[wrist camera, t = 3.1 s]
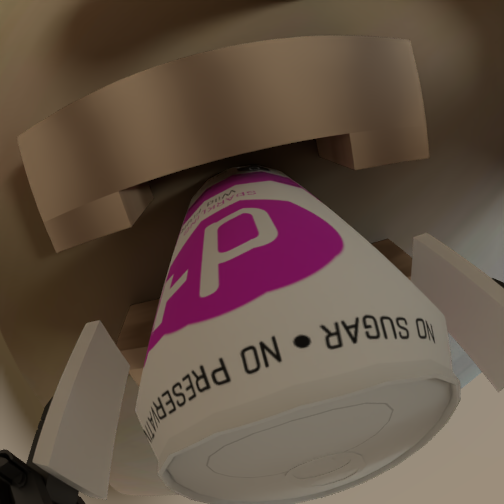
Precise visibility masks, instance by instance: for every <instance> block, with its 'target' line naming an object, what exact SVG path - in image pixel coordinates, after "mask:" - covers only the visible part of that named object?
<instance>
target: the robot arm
mask: <svg viewBox="0 0 504 504" xmlns="http://www.w3.org/2000/svg"><path fill="white" fill-rule="evenodd" d="M411 282H412V283H413V284H414V285H415V286H416V287H417V288H418V289H419V290H420V291H421V292H422V293H423V294H424V295H425V296H426V297H427V298H428V299H429V300H430V301H431V302H432V303H433V304H434V305H435V306H436V307H437V308H438V309H439V310H440V311H441V312H442V313H443V315H444V316H445V320H446V326H447V331H448V332H449V333H450V335H451V336H452V337H453V338H454V339H455V340H456V341H457V343H458V344H459V345H460V346H461V347H462V348H463V349H464V351H465V352H466V353H467V354H468V355H469V357H470V358H471V359H472V360H473V361H474V363H475V364H476V365H477V366H478V367H479V369H480V370H481V371H482V372H483V373H484V375H485V376H486V377H487V379H488V380H489V381H490V382H491V384H492V385H493V386H494V387H495V389H496V390H497V391H498V392H499V391H501V390H502V389H503V388H504V283H503V282H501V281H499V280H496V279H494V278H492V279H491V278H490V277H489V276H487V275H486V274H485V273H484V272H482V271H481V270H480V269H478V268H477V267H476V266H474V265H473V264H471V263H470V262H469V261H467V260H466V259H465V258H463V257H462V256H460V255H459V254H458V253H456V252H455V251H453V250H452V249H450V248H449V247H447V246H446V245H444V244H443V243H442V242H440V241H439V240H437V239H436V238H434V237H432V236H431V235H429V234H428V233H424V234H421V235H418V236H415V237H413V256H412V270H411ZM129 369H130V365H129V363H128V362H127V360H126V359H125V358H124V356H123V355H122V353H121V352H120V350H119V349H118V347H117V346H116V344H115V343H114V341H113V340H112V338H111V337H110V335H109V334H108V332H107V330H106V329H105V327H104V326H103V324H102V322H101V321H100V320H98V321H93V322H89V323H86V324H85V326H84V328H83V330H82V332H81V335H80V337H79V339H78V341H77V343H76V345H75V347H74V349H73V352H72V354H71V356H70V358H69V360H68V363H67V365H66V367H65V370H64V372H63V374H62V377H61V379H60V382H59V384H58V386H57V389H56V392H55V394H54V397H52V398H51V399H50V401H49V402H48V404H47V405H46V406H45V408H44V411H43V414H42V417H41V421H40V423H39V425H38V430H37V431H36V434H35V438H34V440H33V444H32V447H31V451H30V454H29V457H28V460H27V463H26V464H25V463H24V462H23V461H21V460H20V459H18V458H17V457H16V456H14V455H13V454H12V453H11V452H9V451H8V450H1V451H0V504H85V502H84V501H83V500H82V498H81V497H79V496H78V492H79V491H80V492H81V493H83V494H85V495H87V496H89V497H93V498H98V499H104V500H107V492H108V483H109V475H110V468H111V461H112V454H113V447H114V441H115V436H116V430H117V424H118V419H119V414H120V409H121V404H122V399H123V395H124V390H125V386H126V381H127V377H128V373H129Z"/></svg>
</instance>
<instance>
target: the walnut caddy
mask: <svg viewBox="0 0 504 504" xmlns="http://www.w3.org/2000/svg"><path fill="white" fill-rule="evenodd" d="M310 139H316V142H317V148H318V153H319V157H321V158H324V159H327V160H330V161H332V162H335V163H338V164H340V165H343V166H345V167H348V168H350V169H353V170H359V169H364V168H370V167H376V166H381V165H387V164H393V163H400V162H406V161H412V160H419V159H426V158H429V146H428V135H427V126H426V118H425V110H424V103H423V97H422V91H421V86H420V81H419V76H418V71H417V66H416V62H415V58H414V54H413V50H412V46H411V42H410V40H406V39H398V38H388V37H376V36H355V35H324V36H303V37H291V38H281V39H272V40H264V41H257V42H251V43H245V44H239V45H234V46H229V47H224V48H219V49H215V50H211V51H206V52H202V53H198V54H195V55H191V56H187V57H184V58H180V59H177V60H174V61H170V62H167V63H164V64H161V65H158V66H155V67H152V68H150V69H147V70H144V71H141V72H139V73H136V74H133V75H131V76H128V77H126V78H123V79H121V80H119V81H116V82H114V83H112V84H109V85H107V86H105V87H103V88H101V89H99V90H96V91H94V92H92V93H90V94H88V95H86V96H84V97H82V98H80V99H78V100H76V101H75V102H73V103H71V104H69V105H67V106H65V107H64V108H62V109H60V110H58V111H57V112H55V113H53V114H52V115H50V116H48V117H47V118H45V119H43V120H42V121H40V122H39V123H37V124H36V125H34V126H32V127H31V128H29V129H28V130H26V131H25V132H24V133H22V134H21V135H19V136H18V137H17V141H18V145H19V149H20V153H21V157H22V160H23V164H24V168H25V171H26V174H27V178H28V181H29V184H30V187H31V190H32V193H33V196H34V199H35V201H36V204H37V207H38V210H39V212H40V215H41V218H42V220H43V223H44V225H45V227H46V230H47V232H48V235H49V237H50V239H51V242H52V244H53V246H54V248H55V250H56V253H58V252H61V251H63V250H66V249H69V248H71V247H74V246H77V245H80V244H82V243H85V242H88V241H91V240H94V239H97V238H100V237H103V236H105V235H108V234H111V233H114V232H117V231H120V230H123V229H127V228H130V227H132V226H133V224H134V223H135V222H136V220H137V219H138V218H139V216H140V215H141V214H142V213H143V211H144V210H145V209H146V208H147V206H148V205H149V204H150V203H151V201H152V200H153V199H154V198H153V195H152V192H151V189H150V186H149V182H148V181H149V180H152V179H155V178H158V177H161V176H164V175H168V174H171V173H174V172H177V171H181V170H184V169H187V168H191V167H194V166H198V165H201V164H205V163H208V162H212V161H216V160H219V159H223V158H227V157H231V156H235V155H239V154H243V153H247V152H252V151H256V150H260V149H265V148H269V147H274V146H279V145H284V144H289V143H294V142H299V141H305V140H310ZM372 245H373V246H374V247H375V248H376V249H377V250H378V251H379V252H380V253H382V254H383V255H384V256H385V257H386V258H387V259H388V260H389V261H390V262H391V263H392V264H393V265H394V266H396V267H397V268H398V269H399V270H400V271H401V272H402V273H403V274H404V275H405V276H406V277H407V278H408V279H409V280H410V281H411V270H412V258H411V257H410V256H409V255H408V254H406V253H405V252H404V251H403V250H402V249H400V248H399V247H398V246H397V245H395V244H394V243H393V242H392V241H390V240H389V239H386V240H383V241H379V242H376V243H372ZM159 301H160V299H156V300H152V301H148V302H143V303H139V304H135V305H131V306H130V308H129V311H128V313H127V316H126V319H125V321H124V324H123V327H122V329H121V332H120V335H119V338H118V340H117V343H116V346H117V347H118V349H119V350H120V352H121V353H122V355H123V356H124V358H125V359H126V360H127V362H128V363H129V365H130V369H129V374H130V375H131V377H132V378H133V379H134V381H135V382H136V383H137V384H138V386H139V387H140V382H141V377H142V372H143V367H144V363H145V358H146V354H147V349H148V345H149V341H150V336H151V332H152V328H153V324H154V320H155V316H156V312H157V308H158V305H159Z"/></svg>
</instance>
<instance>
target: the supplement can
mask: <svg viewBox="0 0 504 504" xmlns="http://www.w3.org/2000/svg"><path fill="white" fill-rule="evenodd" d="M459 402H460V381H459V380H458V378H457V377H456V376H455V374H454V373H453V369H452V360H451V352H450V345H449V338H448V332H447V326H446V320H445V316H444V315H443V313H442V312H441V311H440V310H439V309H438V308H437V307H436V306H435V305H434V304H433V303H432V302H431V301H430V300H429V299H428V298H427V297H426V296H425V295H424V294H423V293H422V292H421V291H420V290H419V289H418V288H417V287H416V286H415V285H414V284H413V283H412V282H411V281H410V280H409V279H408V278H407V277H406V276H405V275H404V274H403V273H402V272H401V271H400V270H399V269H398V268H397V267H396V266H394V265H393V264H392V263H391V262H390V261H389V260H388V259H387V258H386V257H385V256H384V255H383V254H382V253H380V252H379V251H378V250H377V249H376V248H375V247H374V246H373V245H372V244H371V243H369V242H368V241H367V240H366V239H365V238H364V237H363V236H361V235H360V234H359V233H358V232H357V231H356V230H355V229H353V228H352V227H351V226H350V225H349V224H348V223H346V222H345V221H344V220H343V219H342V218H340V217H339V216H338V215H337V214H336V213H335V212H333V211H332V210H331V209H330V208H328V207H327V206H326V205H325V204H324V203H322V202H321V201H320V200H319V199H317V198H316V197H315V196H314V195H312V194H311V193H310V192H309V191H307V190H306V189H305V188H303V187H302V186H301V185H300V184H298V183H297V182H295V181H294V180H293V179H291V178H290V177H288V176H287V175H285V174H284V173H282V172H281V171H279V170H276V169H272V168H267V167H263V166H259V165H249V166H241V167H233V168H229V169H227V170H225V171H224V172H222V173H220V174H218V175H216V176H214V177H212V178H210V179H208V180H207V181H206V183H205V184H204V185H203V186H202V187H201V188H200V189H199V190H198V192H197V193H196V194H195V195H194V196H193V197H192V199H191V202H190V204H189V207H188V210H187V212H186V215H185V218H184V221H183V224H182V227H181V230H180V233H179V236H178V239H177V242H176V246H175V249H174V252H173V255H172V259H171V262H170V265H169V269H168V272H167V276H166V279H165V283H164V286H163V290H162V294H161V297H160V301H159V305H158V308H157V312H156V316H155V320H154V324H153V328H152V332H151V336H150V341H149V345H148V349H147V354H146V358H145V363H144V367H143V372H142V377H141V382H140V387H139V392H138V397H137V402H136V408H135V412H136V414H137V417H138V419H139V421H140V424H141V426H142V428H143V430H144V433H145V435H146V437H147V439H148V441H149V443H150V445H151V447H152V449H153V452H154V454H155V456H156V457H157V459H158V475H159V477H160V478H161V479H162V481H163V482H164V484H165V485H166V486H167V488H168V489H170V490H172V491H174V492H176V493H178V494H180V495H182V496H184V497H187V498H189V499H191V500H194V501H199V502H204V503H208V504H295V503H300V502H305V501H310V500H313V499H317V498H322V497H326V496H329V495H333V494H335V493H338V492H341V491H344V490H346V489H349V488H352V487H355V486H357V485H360V484H362V483H364V482H367V481H368V480H371V479H373V478H375V477H376V476H379V475H380V474H382V473H384V472H386V471H388V470H390V469H391V468H393V467H395V466H397V465H398V464H400V463H401V462H403V461H404V460H406V459H407V458H408V457H410V456H411V455H412V454H414V453H415V452H416V451H418V450H419V449H421V448H422V447H423V446H424V445H426V444H427V443H428V442H429V441H430V440H431V439H432V438H433V437H434V436H435V435H436V434H437V433H438V432H439V431H440V430H441V429H442V428H443V427H444V426H445V424H446V423H447V422H448V420H449V419H450V417H451V416H452V414H453V412H454V411H455V409H456V407H457V406H458V404H459Z"/></svg>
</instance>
